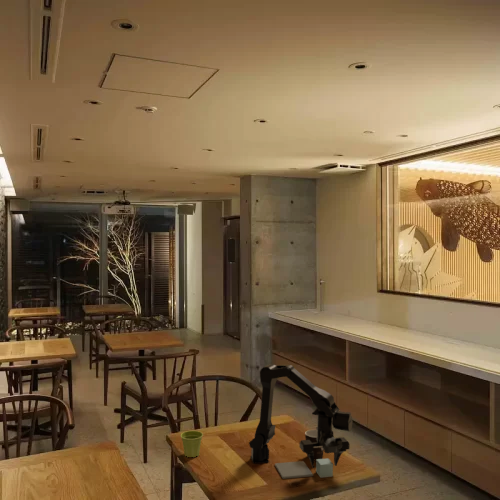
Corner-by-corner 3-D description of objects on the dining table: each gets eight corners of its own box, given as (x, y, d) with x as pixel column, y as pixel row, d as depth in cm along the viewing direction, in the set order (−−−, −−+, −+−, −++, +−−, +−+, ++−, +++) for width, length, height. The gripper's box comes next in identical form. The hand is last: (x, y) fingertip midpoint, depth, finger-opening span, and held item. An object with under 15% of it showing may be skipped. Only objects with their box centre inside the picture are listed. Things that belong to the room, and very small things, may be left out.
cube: (320, 477, 198) (320, 464, 197) (316, 472, 202) (316, 459, 202) (332, 476, 199) (332, 463, 199) (328, 470, 204) (328, 458, 203)
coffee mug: (312, 463, 210) (312, 438, 210) (300, 455, 218) (300, 431, 218) (335, 457, 216) (335, 434, 215) (323, 450, 223) (323, 427, 223)
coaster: (282, 478, 196) (282, 476, 196) (274, 465, 208) (274, 463, 208) (312, 476, 199) (312, 474, 199) (303, 463, 210) (303, 461, 210)
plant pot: (197, 461, 211) (197, 440, 211) (176, 457, 214) (176, 437, 214) (206, 452, 220) (206, 432, 220) (186, 449, 223) (186, 429, 223)
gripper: (308, 436, 190) (307, 478, 191) (355, 432, 194) (355, 473, 195) (299, 425, 201) (298, 465, 202) (344, 422, 205) (343, 461, 205)
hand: (324, 466), depth 201 cm, fingers open, 9 cm apart
